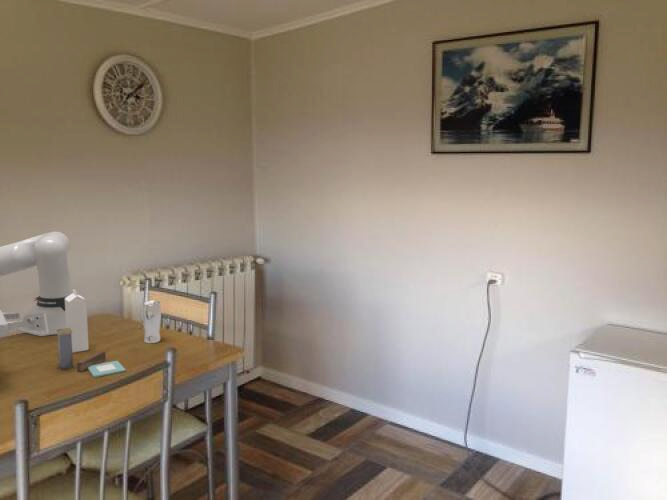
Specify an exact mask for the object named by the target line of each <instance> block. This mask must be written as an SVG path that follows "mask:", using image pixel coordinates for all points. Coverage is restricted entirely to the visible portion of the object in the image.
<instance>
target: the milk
mask: <svg viewBox="0 0 667 500" xmlns="http://www.w3.org/2000/svg"><path fill="white" fill-rule="evenodd" d="M65 314H66V328H70V329H71V330H72V333H71V337H72V354H74V353H79V352H83V351H89V329H88V309H87V299H86V298H85V297H83V296H82V295H80V294H78V291H76V289H74V288H73V289H72V293H71V295H69V296H68V297H66V298H65Z"/></svg>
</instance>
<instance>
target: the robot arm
mask: <svg viewBox="0 0 667 500" xmlns="http://www.w3.org/2000/svg"><path fill="white" fill-rule="evenodd" d="M70 248H71V242H70V239H69V238H68V237H67V235H66V234H64V233H63V232H61V231H50V232H46V233H43V234H42V233H41V234H39V235H35V236H33V237H30V238H27V239H23V240H20V241H17V242H13V243H9V244H6V245H2V246H0V277H3V276H7V275H11V274H15V273H18V272H21V271H25V270H29V269H31V268H34V267H36V269H37V274H38V283H39V285H38V287H39V295H38V296H37V297H34V300H33V301H35V302H36V301H37V302H36V305H34V307H32V308H31V309H29V310H28V311H26V313H25V314H24V316H23V319H20V318H21V317H20V313H19V312H3V311H2V309H0V338H1V337H5V336H7V335H9V330H14V329H16V331H17V332H22V333H24V334H25V333H26V334H30V335H34V336H39V337H46V336H50V335H57V331H56V330H58V329H65V328H66V314H65V298H66V297H68V296H69V295H71V294H72V293H71V291H72V290H71V277H70V275H71V274H70V271H69V266H68V258H67V254H68V253H69V252H70ZM8 320H15V321H8Z"/></svg>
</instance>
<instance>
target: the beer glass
mask: <svg viewBox="0 0 667 500" xmlns="http://www.w3.org/2000/svg"><path fill="white" fill-rule="evenodd" d="M141 304H142V305H141V318H142V323H143V328H144V337H143V338H144V339H143V342H144V343H146V344H155V343H159V342H160V341H161V340H162V338H161V335H160V334H161V333H160V328H161V322H162V321H161V320H162V319H161V318H162V306H161V301H158V300H147V301H143V302H142V303H141Z"/></svg>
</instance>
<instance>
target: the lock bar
mask: <svg viewBox="0 0 667 500" xmlns="http://www.w3.org/2000/svg"><path fill="white" fill-rule="evenodd" d="M56 331H57V334H56V335H57V348H58V349H57V350H58V351H57V352H58V366H59V368H60V370H68V369H72V368H74V363H73V362H74V361H73V360H74V358H73V353H72V337H71V333H72V330H71V329H70V328H65V329H58V330H56Z"/></svg>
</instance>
